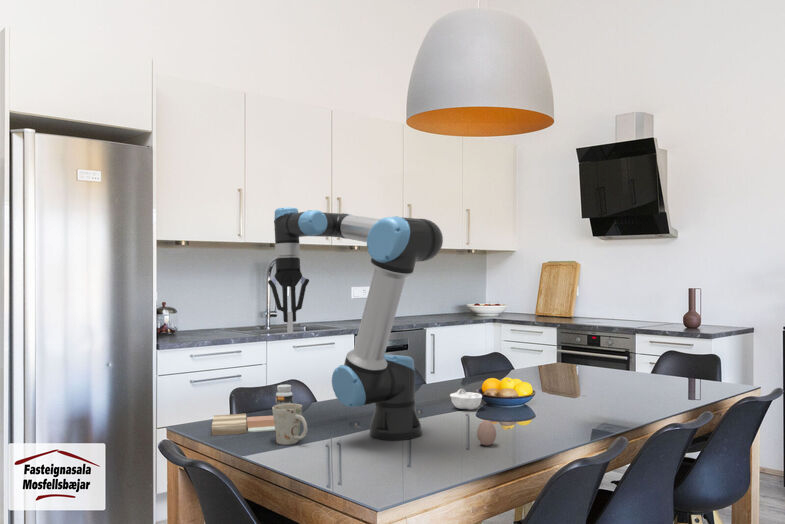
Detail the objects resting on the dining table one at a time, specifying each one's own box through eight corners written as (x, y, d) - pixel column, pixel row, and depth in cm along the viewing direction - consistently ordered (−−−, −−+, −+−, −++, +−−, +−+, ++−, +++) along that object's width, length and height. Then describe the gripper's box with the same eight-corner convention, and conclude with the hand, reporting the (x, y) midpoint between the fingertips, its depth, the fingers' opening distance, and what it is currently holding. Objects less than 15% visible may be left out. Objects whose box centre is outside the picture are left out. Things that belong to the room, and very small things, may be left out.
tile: (276, 421, 210) (276, 415, 210) (277, 426, 204) (277, 419, 204) (247, 423, 208) (246, 417, 208) (247, 428, 202) (247, 421, 202)
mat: (288, 429, 201) (288, 428, 201) (248, 432, 198) (248, 431, 198) (285, 418, 217) (285, 416, 217) (247, 420, 214) (247, 419, 214)
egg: (473, 445, 180) (472, 420, 180) (485, 441, 184) (484, 417, 184) (488, 449, 177) (488, 423, 177) (500, 445, 180) (499, 420, 180)
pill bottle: (276, 418, 217) (276, 387, 217) (275, 414, 223) (274, 384, 223) (294, 416, 219) (293, 386, 219) (292, 413, 224) (291, 383, 224)
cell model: (468, 414, 219) (468, 393, 219) (443, 408, 228) (443, 389, 228) (489, 409, 225) (489, 389, 225) (464, 404, 234) (464, 385, 234)
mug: (288, 436, 193) (288, 402, 193) (319, 443, 185) (318, 407, 185) (266, 442, 186) (266, 407, 186) (297, 450, 178) (296, 412, 178)
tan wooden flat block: (246, 433, 197) (246, 424, 197) (211, 435, 195) (211, 427, 195) (246, 421, 213) (246, 413, 213) (213, 423, 211) (213, 415, 211)
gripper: (306, 257, 213) (309, 330, 212) (265, 258, 210) (268, 333, 209) (310, 256, 206) (312, 332, 205) (267, 257, 202) (270, 334, 202)
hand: (290, 332), depth 207 cm, fingers closed
